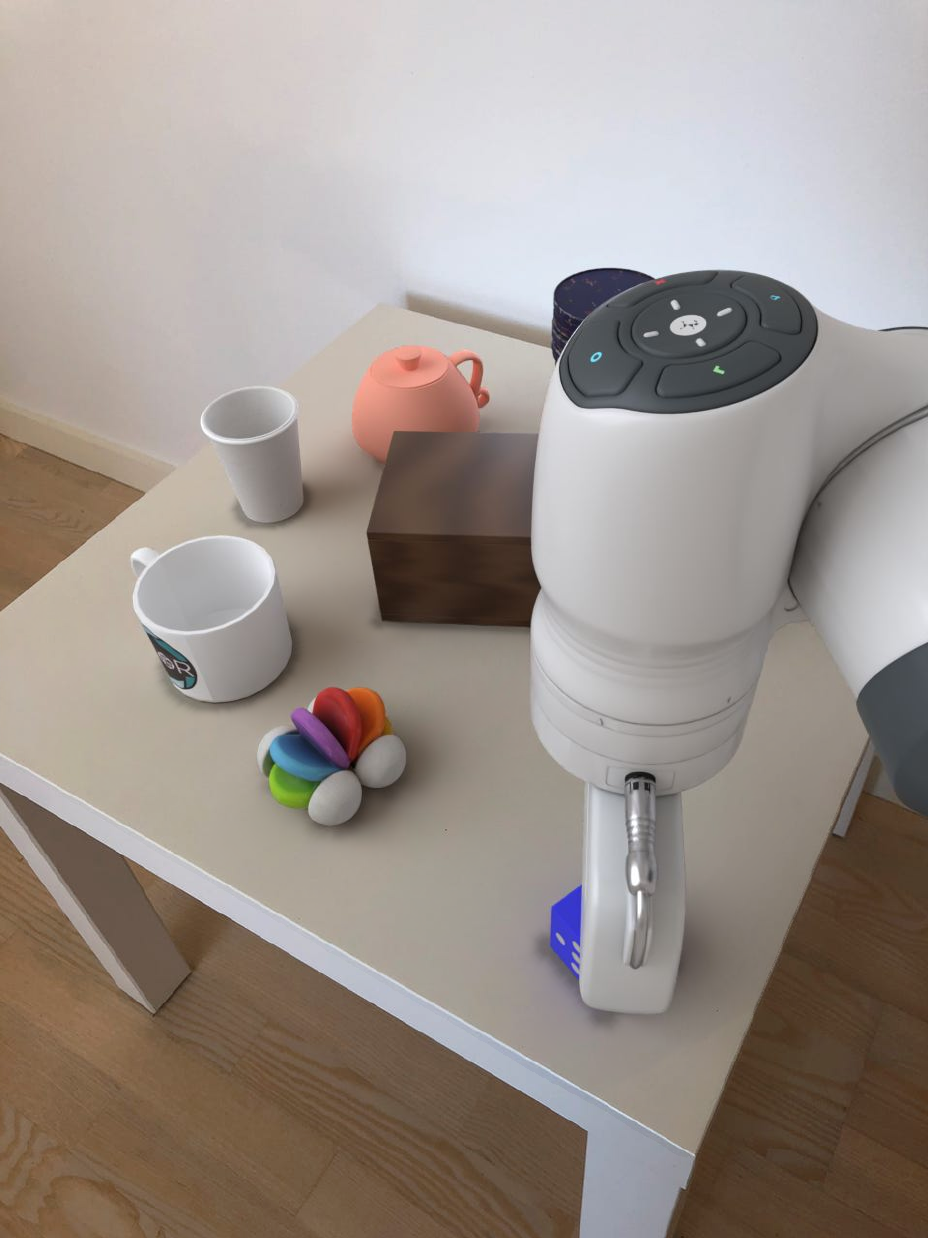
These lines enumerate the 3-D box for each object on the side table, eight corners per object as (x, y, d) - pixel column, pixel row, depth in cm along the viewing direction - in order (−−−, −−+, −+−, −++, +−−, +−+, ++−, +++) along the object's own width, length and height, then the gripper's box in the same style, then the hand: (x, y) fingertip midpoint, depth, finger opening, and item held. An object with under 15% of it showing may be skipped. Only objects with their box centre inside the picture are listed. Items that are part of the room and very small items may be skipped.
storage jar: (573, 480, 87) (578, 333, 77) (534, 422, 94) (534, 280, 83) (670, 454, 89) (689, 308, 78) (626, 400, 96) (638, 258, 85)
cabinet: (568, 523, 83) (571, 433, 76) (562, 628, 75) (565, 538, 68) (405, 519, 85) (393, 430, 78) (381, 621, 76) (365, 531, 69)
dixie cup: (210, 506, 88) (180, 415, 81) (280, 463, 92) (258, 373, 84) (265, 545, 84) (239, 453, 76) (336, 499, 87) (318, 407, 80)
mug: (324, 638, 75) (306, 565, 70) (232, 729, 70) (204, 657, 64) (204, 578, 81) (178, 505, 75) (110, 657, 75) (74, 585, 70)
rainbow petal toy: (427, 765, 67) (418, 701, 61) (319, 854, 62) (299, 794, 57) (351, 700, 71) (336, 635, 66) (245, 779, 67) (220, 717, 61)
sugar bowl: (338, 429, 95) (321, 337, 88) (464, 390, 99) (458, 299, 91) (383, 497, 87) (369, 403, 80) (518, 452, 91) (516, 358, 83)
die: (604, 1012, 54) (609, 976, 51) (548, 945, 57) (549, 907, 53) (667, 960, 56) (676, 922, 52) (610, 898, 59) (615, 858, 55)
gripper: (742, 934, 31) (689, 1076, 41) (703, 521, 45) (671, 703, 55) (548, 918, 31) (542, 1062, 41) (569, 516, 45) (561, 697, 55)
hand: (615, 855), depth 48 cm, fingers open, 8 cm apart
